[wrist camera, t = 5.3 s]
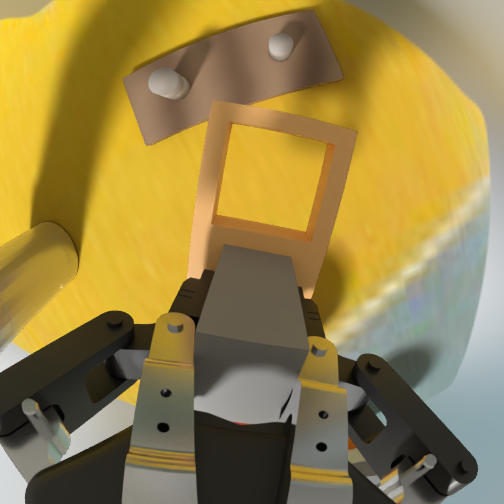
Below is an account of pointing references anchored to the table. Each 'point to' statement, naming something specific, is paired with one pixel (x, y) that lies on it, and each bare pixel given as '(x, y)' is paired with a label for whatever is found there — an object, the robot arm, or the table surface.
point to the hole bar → (257, 274)
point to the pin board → (231, 72)
